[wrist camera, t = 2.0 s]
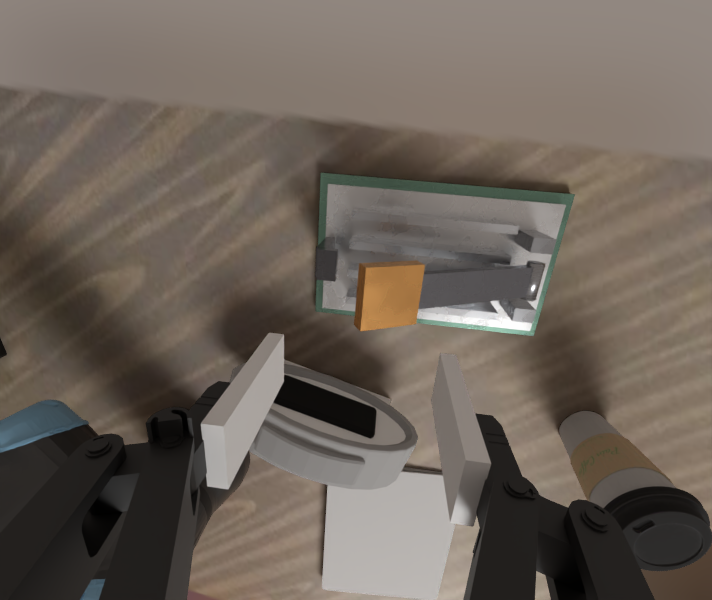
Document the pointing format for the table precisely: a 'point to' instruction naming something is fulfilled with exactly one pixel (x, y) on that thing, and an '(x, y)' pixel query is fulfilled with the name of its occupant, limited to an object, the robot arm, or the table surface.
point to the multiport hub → (2, 350)
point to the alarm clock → (333, 432)
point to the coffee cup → (636, 495)
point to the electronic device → (388, 537)
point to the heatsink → (436, 240)
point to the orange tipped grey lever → (434, 289)
